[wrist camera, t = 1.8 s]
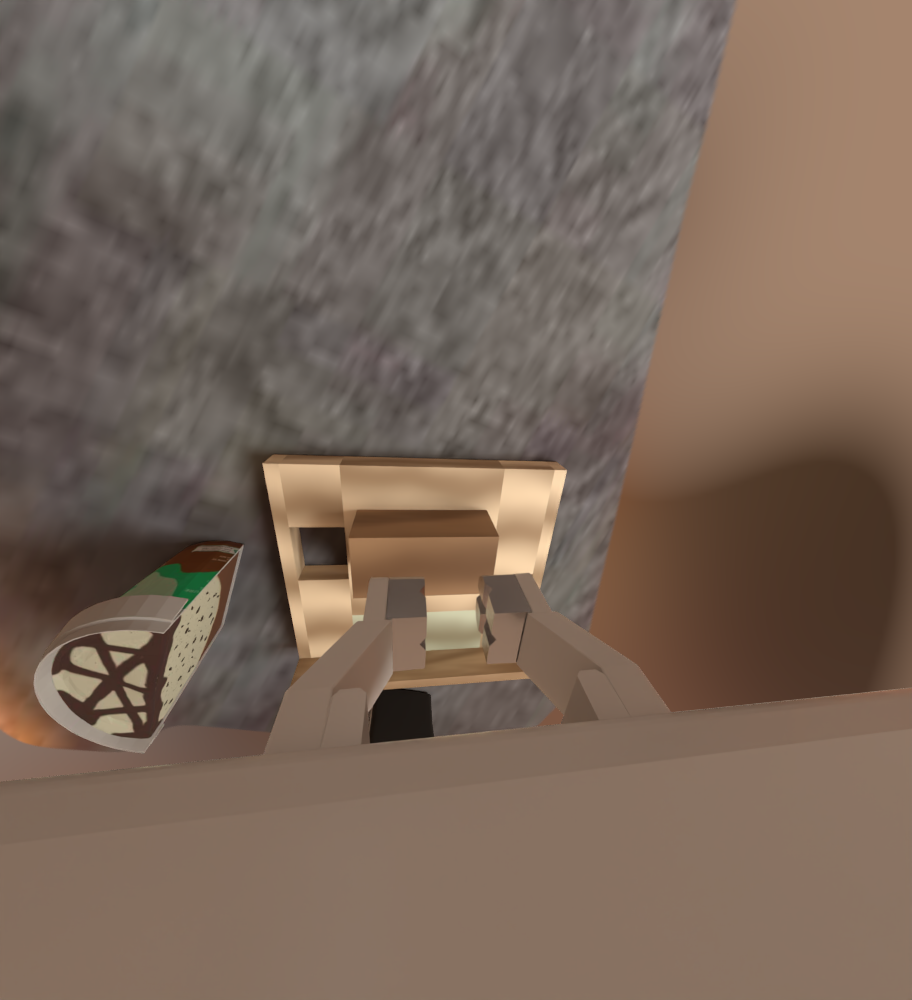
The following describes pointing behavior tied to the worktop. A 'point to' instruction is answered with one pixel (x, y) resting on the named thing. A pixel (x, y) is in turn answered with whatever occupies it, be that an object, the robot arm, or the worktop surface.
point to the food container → (138, 649)
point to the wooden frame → (407, 486)
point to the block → (423, 548)
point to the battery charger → (400, 716)
